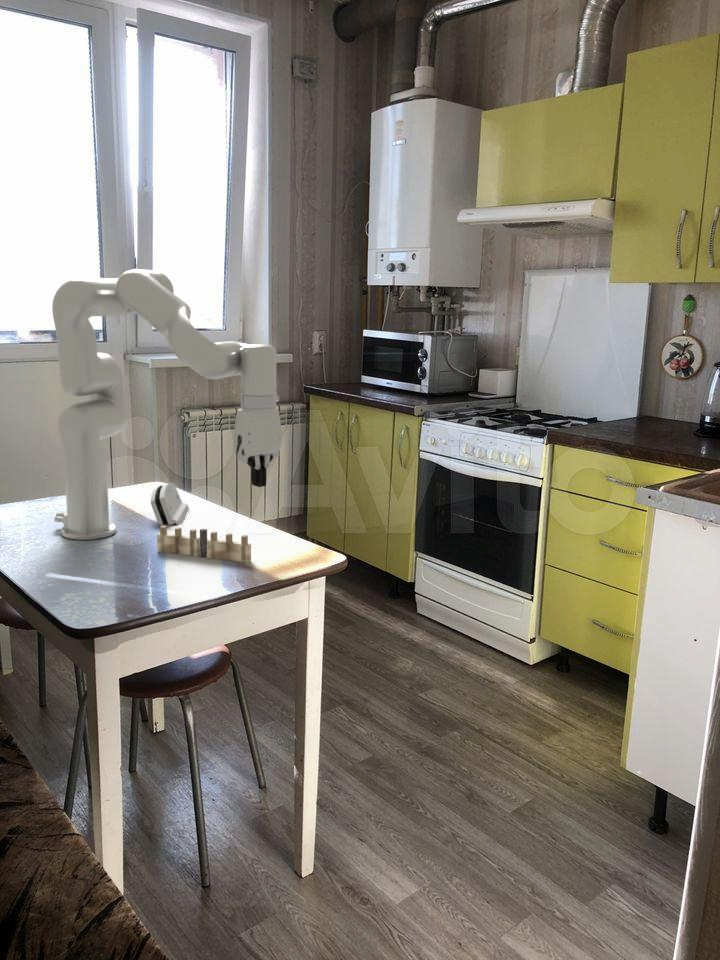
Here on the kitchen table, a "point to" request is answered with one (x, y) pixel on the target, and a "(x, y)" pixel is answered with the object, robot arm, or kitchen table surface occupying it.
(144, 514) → the kitchen table surface
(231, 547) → the fence flap
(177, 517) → the black-banded white body
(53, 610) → the kitchen table surface
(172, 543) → the fence fixed
